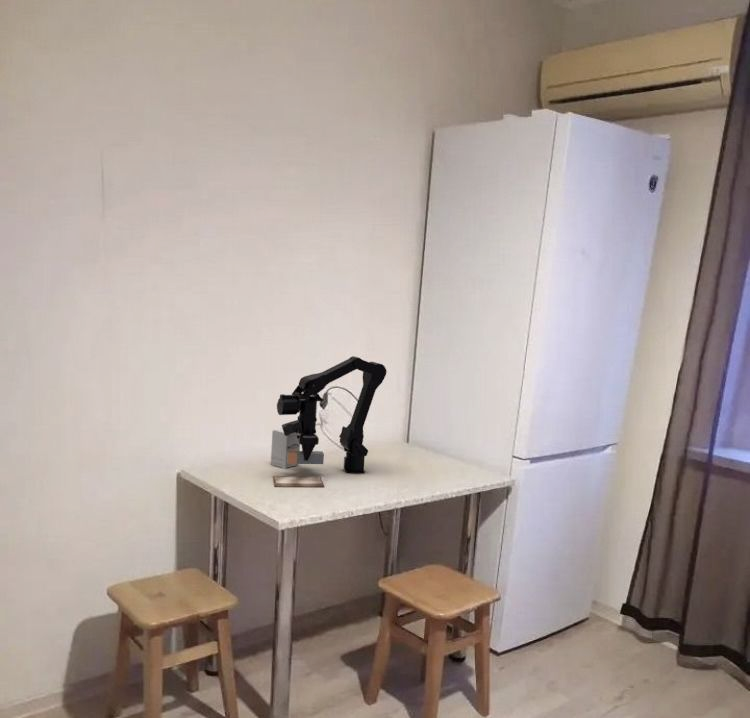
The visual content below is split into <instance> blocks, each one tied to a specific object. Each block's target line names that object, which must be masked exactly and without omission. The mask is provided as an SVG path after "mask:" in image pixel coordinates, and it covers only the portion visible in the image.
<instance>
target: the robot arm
mask: <svg viewBox="0 0 750 718" xmlns="http://www.w3.org/2000/svg"><path fill="white" fill-rule="evenodd" d="M356 370H358V371H361V372H362V388H361V391H360V394H359V396H358V398H357V399H358V400H357V402H356V405H355V407H354V411H353V413H352V417H351V420H350V422H349V424H348V425H347V426H344V425H343V426H342V427H341V433H340V435H339V436H338V437H339V443H340V446H342V448H343V450H344V452H345V456H344V457H343V470H344V471H345V473H349V474H365V472H366V471H365V457H367V456H368V453H369V450H368V448H367V447H366V446H365V445H364V425H365V423H366V420H367V416H368V414H369V411H370V408H371V405H372V402H373V399H374V396H375V394H376V390H377V389H378V388H379V387H380V386H381V384H383V381H384V380H385V378H386V376H387V373H388V372H387V368H386V366H385V365H384V364H382V363H379V362H375V361H367V360H364V359H362V358H361V357H358V356H354V355H353V356H351V357H349V358H348V359H346V360H344V361H341V362H340V363H338V364H335V365H334V366H331V367H329V368H328V369H326V370H323V371H322V372H318V373H313V374H309V375H306V376H302V377H301V378H300V379H299V381H298V385H297V386H296V388H295V389H294V390H293V392H291V394H282V393H281V394H279V398H278V400H277V403H276V409H277V415H279V416H289V415H290V416H291V415H297V414H299V415H298V416H297V420H292V421H289V422H286V423H283V424H281V429H283V432H284V435H285V436H288V435H289V434H292V433H295V432H296V434H298V433H299V435H297V438H298V439H299V444H300V446H301V451H303V454H304V460H305V461H308V459H309V457H310V455H311V453H312V451H314V449H315V447H316V446H317V445H319V441H320V440H319V436H318V435H317V428H316V426H317V425H316V423H317V422H318V420H317V419H318V418H317V410H318V408H317V407H318V406H317V405H318V402H324V399H323V398H322V397H321V396H320V394H319V393H321V392H322V391H323V390H324V389H325V388H326V386H327V385H329V384H331V383H333V382H334V381H336V380H338V379H340V378H342V377H344V376H346V375H348V374H350V373H352V372H354V371H356Z"/></svg>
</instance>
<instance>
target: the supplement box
mask: <svg viewBox="0 0 750 718" xmlns="http://www.w3.org/2000/svg"><path fill="white" fill-rule="evenodd" d="M297 435H299V433H298V434H296V432H295V433H292V434H289V435H288V436H285V435H284V432H283V429H282V428H278V429H273V430H272V433H271V437H272V438H271V454H270V465H272V466H275V467H279V468H282V469H287V468H291V467H295V466H299V465H300V464H288V463H287V454H288V450H297V451H301V444H299V439H298V438H297Z"/></svg>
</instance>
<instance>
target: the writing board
mask: <svg viewBox="0 0 750 718" xmlns="http://www.w3.org/2000/svg"><path fill="white" fill-rule="evenodd" d="M272 481H273V486H274V488H325V484H324V482H323V480H322V477H321V476H301V475H300V476H295V475H293V476H291V475H285V476H284V475H283V476H282V475H280V476H279V475H273V476H272Z"/></svg>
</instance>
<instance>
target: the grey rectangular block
mask: <svg viewBox="0 0 750 718" xmlns="http://www.w3.org/2000/svg"><path fill="white" fill-rule="evenodd" d="M324 456H325V453H324V451H323V450H322V451H318V450H316V451H315V450H313V451H312V453H311V455H310V457H309V459H308V461H305V460H304V454H303V451H302V450H300V451H297V450H288V454H287V463H288V464H299V465H324Z"/></svg>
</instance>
